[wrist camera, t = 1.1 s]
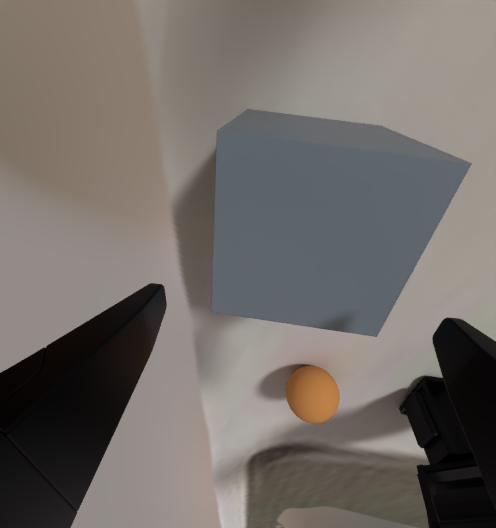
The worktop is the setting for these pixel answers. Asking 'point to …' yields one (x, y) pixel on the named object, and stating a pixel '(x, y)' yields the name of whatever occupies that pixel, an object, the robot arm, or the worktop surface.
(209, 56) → the worktop surface
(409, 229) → the grey block
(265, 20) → the worktop surface
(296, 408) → the ball
